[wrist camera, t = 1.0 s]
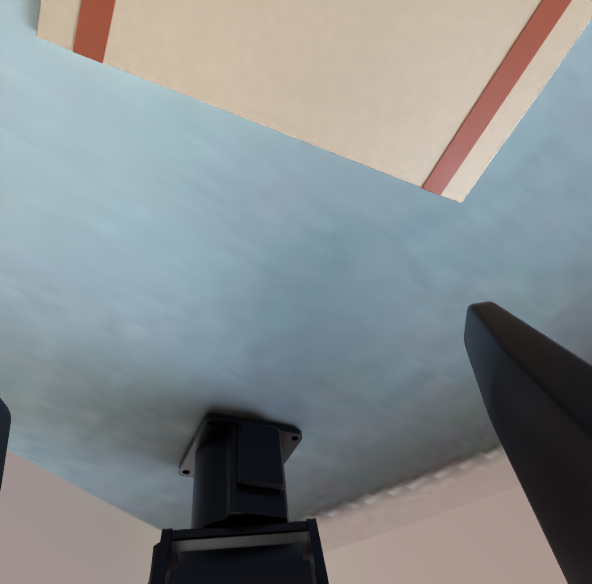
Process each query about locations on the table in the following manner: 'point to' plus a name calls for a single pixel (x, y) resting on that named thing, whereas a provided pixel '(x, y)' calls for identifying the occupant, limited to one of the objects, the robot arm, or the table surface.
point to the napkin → (345, 69)
